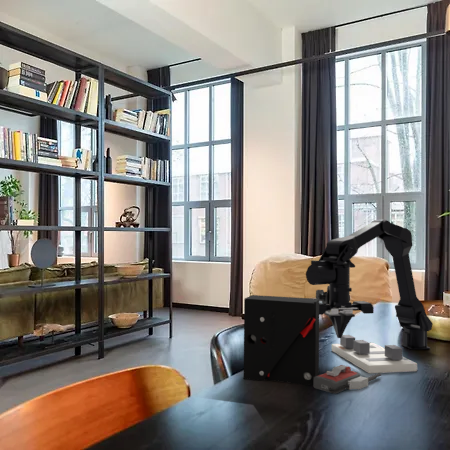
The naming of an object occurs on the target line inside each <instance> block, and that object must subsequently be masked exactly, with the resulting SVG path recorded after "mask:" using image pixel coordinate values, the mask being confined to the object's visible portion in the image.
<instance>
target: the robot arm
mask: <svg viewBox="0 0 450 450" xmlns="http://www.w3.org/2000/svg"><path fill="white" fill-rule="evenodd" d="M376 238H378V239H380V240H381V241H383V244H384V247H385V249H386V251H387V252H388V253H389V254H390V256H392V261H393V266H394V272H395V273H394V274H395V278H396V284H397V288H398V295H399V301H398V303H397V304H395V305H394V309H395V313H396V315H395V317H396V318H397V319H398V322H399V327H401V328H404V329H403V330H404V331H403V333H402V343H400V344H401V346H403V347H405V348H407V349H410V350H413V351H415V350H430V349H431V347H430V346H428V332H430V331H432V328H433V322H432V320H431V319H430V318H429V317H428V315H427V314H426V309H425V307H424V304H423V303H422V301H421V300H419V298H418V296H417V292H416V288H415V287H416V286H415V281H414V276H413V270H412V265H411V261H410V260H411V259H410V252H411V249H412V247H413V236H412V231H411V230H410V229H408V228H407V227H403V226H400V225H398V224H394V223H392V222H390V221H388V220H387V219H374V220H372V221H371V222H370V223H369V224H367V225H366V224H365V226H363V227H362V228H360V229H358V230H356V231H355V232H352V233H350V234H349V235H347V236H341V237H337V238H334V239H331V240H329V241H328V242H327V243H326V245H325V248H324V251H323V252H322V253H321V255H320V257H319V258H318V260H314V259H313V260H311V261H310V265H309V266H308V267H307V269H306V272H305V278H306V281H307V282H308V284H309V285H312V286H319V285H327V288H326V291H325V290H324V289H317V290H315V299H319V316H321V315H325V316H328V318H329V319H330V322H331V323H332V326H333V329H334V333H335V335H336V338H337V339H340V338H341V337H342V335H344V332H345V331H346V328H347V326H348V325H349V323H350V322H351V319H352V318H355V317H356V314H354V313H353V312H355V311H357V312H358V311H361V312H362V314H364V315H365V314H374V305H373V304H372V303H371V302H368V301H365V300H362V301H361V300H359V301H358V300H355V301H350V299H351V298H350V292H353V291H352V289H353V288H352V287H350V285H351V283H350V282H351V281H350V278H351V276H350V274H351V273H350V271H351V270H350V269H351V268H356V265H355V263H353V262H352V259H353V258H354V256H355V255H357V254H358V250H359V249H360V248H361V247H363V246H365V245H366V244H369V243H370V242H371V241H373V240H374V239H376Z"/></svg>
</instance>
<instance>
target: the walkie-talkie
mask: <svg viewBox="0 0 450 450" xmlns="http://www.w3.org/2000/svg"><path fill="white" fill-rule="evenodd" d="M380 376H382V373H374V374H373V375H370V376H367V377H365V376H361V374H360V373H359V372H357V371H354V370H352V368H351V367H350V366H348V365H343V364H340V365H337V366H334V367H333V368H332V369H331V370H327V371H326V372H325V373H323V374H319V375H318V376H315V377H314V383H313V386H312V387H313V388H314V389H316V390H321V391H323V392H326V393H330V394H338V393H341V392H344V391H346V390H349V391H352V390H351V389H358V390H362V389H363V388H366V387H369V383H370V382H372V381H374V380H377V378H379V377H380Z"/></svg>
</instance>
